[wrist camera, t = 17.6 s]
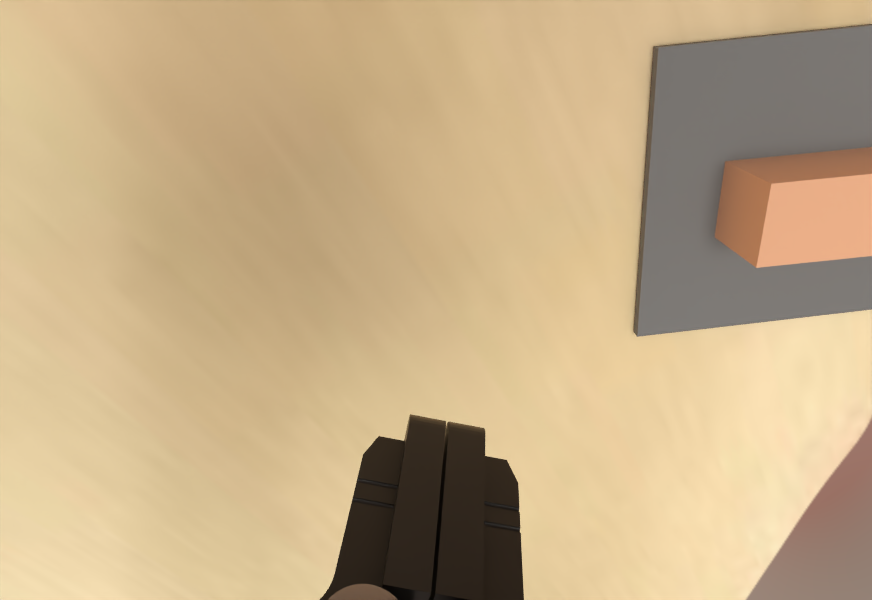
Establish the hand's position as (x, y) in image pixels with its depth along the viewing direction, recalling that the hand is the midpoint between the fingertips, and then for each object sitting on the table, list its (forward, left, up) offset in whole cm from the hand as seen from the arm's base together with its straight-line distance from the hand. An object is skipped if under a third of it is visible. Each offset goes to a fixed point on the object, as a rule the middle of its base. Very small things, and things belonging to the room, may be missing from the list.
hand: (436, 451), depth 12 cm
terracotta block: (+4, +18, -20) cm, 27 cm away
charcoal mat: (+4, +22, -23) cm, 33 cm away
